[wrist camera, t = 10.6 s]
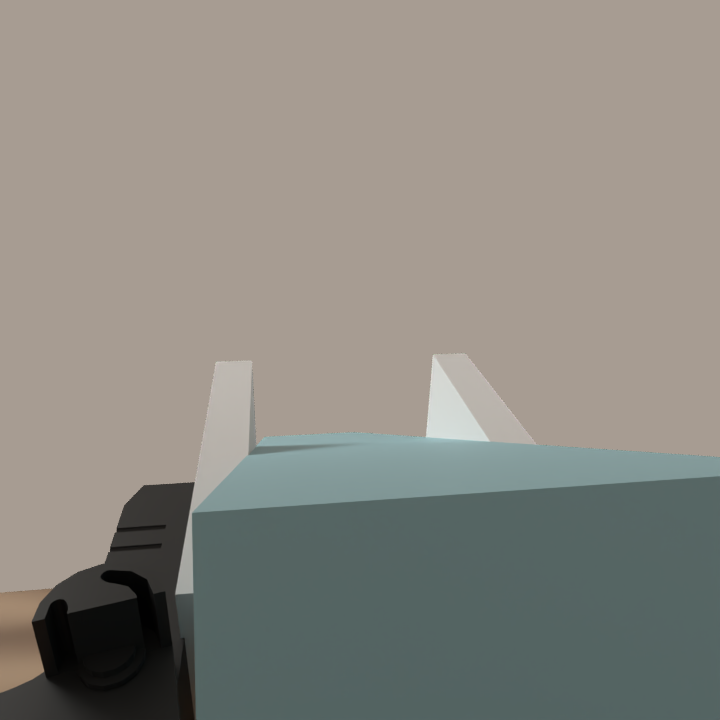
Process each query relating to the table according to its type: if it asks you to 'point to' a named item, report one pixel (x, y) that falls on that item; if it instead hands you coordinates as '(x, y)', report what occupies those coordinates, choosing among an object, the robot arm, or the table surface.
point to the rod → (457, 582)
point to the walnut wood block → (19, 638)
